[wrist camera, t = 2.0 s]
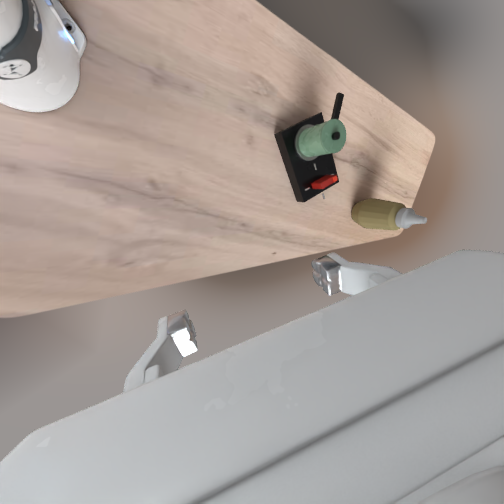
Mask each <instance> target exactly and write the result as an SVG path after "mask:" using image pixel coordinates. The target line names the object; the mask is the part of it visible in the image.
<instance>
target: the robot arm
mask: <svg viewBox="0 0 504 504" xmlns="http://www.w3.org/2000/svg"><path fill="white" fill-rule="evenodd" d="M67 26H71V27H72V30H67V29H66V27H67ZM86 44H87V40H86V37H85V35H84V34H83V32H82V31H81V29H80V28H79V27H78V25H77V24H76V23H75V21H74V20H73V19H72V18H71V16H70V15H69V14H68V12H67V11H66V10H65V8H64V7H63V6H62V4H61V3H60V2H59V1H58V0H0V103H2V104H4V105H6V106H9V107H12V108H15V109H18V110H22V111H28V112H46V111H51V110H55V109H57V108H59V107H61V106H63V105H65V104H66V103H67V102H68V101H69V100H70V99H71V98H72V97H73V96H74V94H75V92H76V90H77V88H78V84H79V79H80V58H81V56H82V54H83V52H84V50H85V48H86ZM312 267H313V268H314V271H313V277H314V280H315V282H316V283H317V284H318V285H319V286H321V287H323V290H324V291H325V292H326V293H327V294H328V295H329V296H330V295H333V294H335V293H338V292H340V291H342V292H344V293H347V294H350V295H353V296H350V297H348V298H346V299H343V300H341V301H339V302H336V303H334V304H332V305H329V306H327V307H325V308H322V309H320V310H318V311H315V312H313V313H310V314H308V315H306V316H303V317H301V318H299V319H296V320H294V321H292V322H289V323H287V324H285V325H282V326H280V327H277V328H275V329H273V330H270V331H268V332H266V333H263V334H261V335H259V336H256V337H254V338H251V339H249V340H247V341H244V342H242V343H240V344H237V345H235V346H233V347H230V348H228V349H226V350H223V351H221V352H218V353H216V354H214V355H211V356H210V357H207V358H204V359H202V360H200V361H197V362H196V363H193V364H190V365H188V366H186V367H183V368H181V369H178V368H179V366H180V363H181V361H182V359H183V357H184V356H187V355H189V354H191V353H194V352H196V351H197V342H196V340H195V337H196V333H195V329H194V326H193V323H192V321H191V320H189V316H188V313H187V311H186V310H183V311H180V312H177V313H175V314H172V315H169V316H166V317H163V318H161V319H159V321H158V332H157V339H156V340H154V341H153V343H152V344H151V345H150V347H149V348H148V349H147V351H146V352H145V353H144V354H143V356H142V357H141V358H140V359H139V361H138V362H137V363H136V365H135V366H134V367H133V369H132V370H131V371H130V372H129V374H128V375H127V377H126V381H125V386H124V391H123V393H122V394H120V395H117V396H115V397H113V398H110V399H108V400H105V401H103V402H101V403H98V404H96V405H94V406H91V407H89V408H87V409H84V410H82V411H80V412H77V413H75V414H72V415H70V416H68V417H66V418H63V419H61V420H58V421H56V422H53V423H51V424H48V425H46V426H43V427H41V428H40V429H37V430H35V431H34V432H32V433H31V434H29V435H28V436H27V437H26V438H25V439H24V440H23V441H21V442H20V443H19V444H18V445H17V446H16V447H15V448H14V449H13V450H12V451H11V452H10V453H9V454H8V455H7V456H6V457H5V458H4V459H3V460H2V461H1V462H0V504H504V253H500V252H491V251H480V250H460V251H456V252H454V253H452V254H449V255H447V256H445V257H442V258H440V259H437V260H435V261H433V262H431V263H428V264H426V265H423V266H421V267H419V268H417V269H414V270H412V271H410V272H407V273H405V274H402V273H400V272H398V271H397V270H394V269H393V268H391V267H385V266H379V265H371V264H364V263H357V262H348V261H347V260H345V259H344V258H342V257H340V256H339V255H337V254H336V253H330V254H328V255H326V256H323V257H321V258H318V259H316V260H313V261H312Z"/></svg>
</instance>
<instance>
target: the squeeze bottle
mask: <svg viewBox="0 0 504 504" xmlns="http://www.w3.org/2000/svg"><path fill="white" fill-rule="evenodd" d="M351 215H352V219H353V220H354V221H355V222H356V223H358V224H359V225H361V226H362V227H364V228H370V229H383V230H398V229H400V228H409V227H410V226H411V225H412V224H421V223H426V222H427V218H425V217H422V216H419V215H416V214H415V212H414V210H413V209H412V208H406V207H405V205H403V204H402V203H396V202H391V201H385V200H380V199H374V198H369V199H366V200H363V201H360V202H358V203H356V204H355V205H354V207H353V209H352V214H351Z"/></svg>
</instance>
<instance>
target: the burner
mask: <svg viewBox="0 0 504 504" xmlns="http://www.w3.org/2000/svg"><path fill="white" fill-rule="evenodd" d="M312 126H314V125H310V124H308V125H305V126H303V127H301V128H300V129H299V130H298V132H297V133H296V136H295V140H294V147H295V151H296V153H297V155H298V156H299V157H300V158H301V159H303V160H306V161H310V160H313V159H315V158H317V157H318V156H313V157H306V156H304V155H303V154H302V153H301V151H300V149H299V137H300V135H301V133H302V132H303V131H304V130H305V129H307V128H310V127H312Z"/></svg>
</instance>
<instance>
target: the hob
mask: <svg viewBox="0 0 504 504" xmlns="http://www.w3.org/2000/svg"><path fill="white" fill-rule="evenodd" d="M321 123H324V119H323V115H322V112H321V113H318V114H316V115H314V116H312V117H309V118H307V119H305V120H303V121H301V122H299V123H297V124H295V125H293V126H291V127H289V128H287V129H285V130H282V131H280V132H278V133H276V134H274V135H275V138H276V141H277V144H278V147H279V150H280V153H281V156H282V159H283V162H284V165H285V168H286V171H287V174H288V177H289V180H290V182H291V185H292V188H293V191H294V194H295V197H296V200H297V202H305V201H307V200H309V199H310V198H312V197H314V196H316V195H317V194H319V193H321V192H323V191H324V190H326V189H328V188H329V187H331V186H333V185H335V184H336V183H338V182H339V179H338V175H337V171H336V167H335V163H334V159H333V155H332V153H331V154H325V155H319V156H318V157H317V158H315V159H313V160H310V161H306V160H303V159H301V158H300V157H299V156H298V155H297V153H296V151H295V147H294V140H295V136H296V133H297V132H298V130H299V129H300V128H301V127H303V126H305V125H308V124H310V125H314V126H315V125H318V124H321ZM325 175H336V176H337V179H338V180H337V181H336V182H334V183H332V184H330V185H329V186H327V187H325V188H324V189H313V188H312V184H311V183H313V182H315V181H316V180H318V179H320V178H322V177H324V176H325ZM322 196H323V199H325V197H324V193H323V194H322Z"/></svg>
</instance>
